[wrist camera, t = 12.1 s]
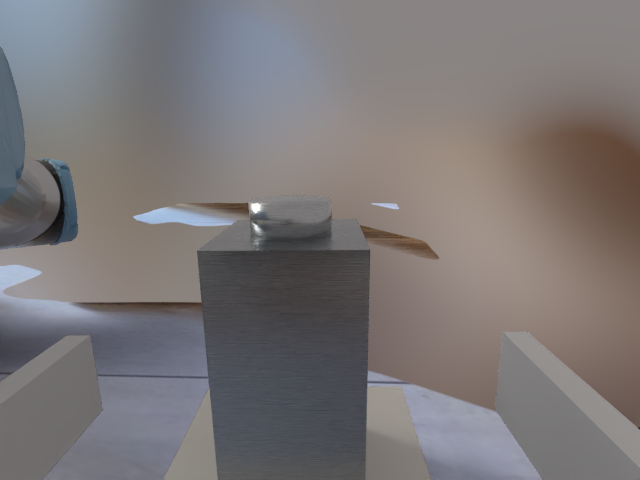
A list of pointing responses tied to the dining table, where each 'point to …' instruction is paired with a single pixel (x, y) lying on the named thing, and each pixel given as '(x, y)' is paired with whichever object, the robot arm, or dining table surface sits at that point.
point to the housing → (287, 342)
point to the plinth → (381, 442)
